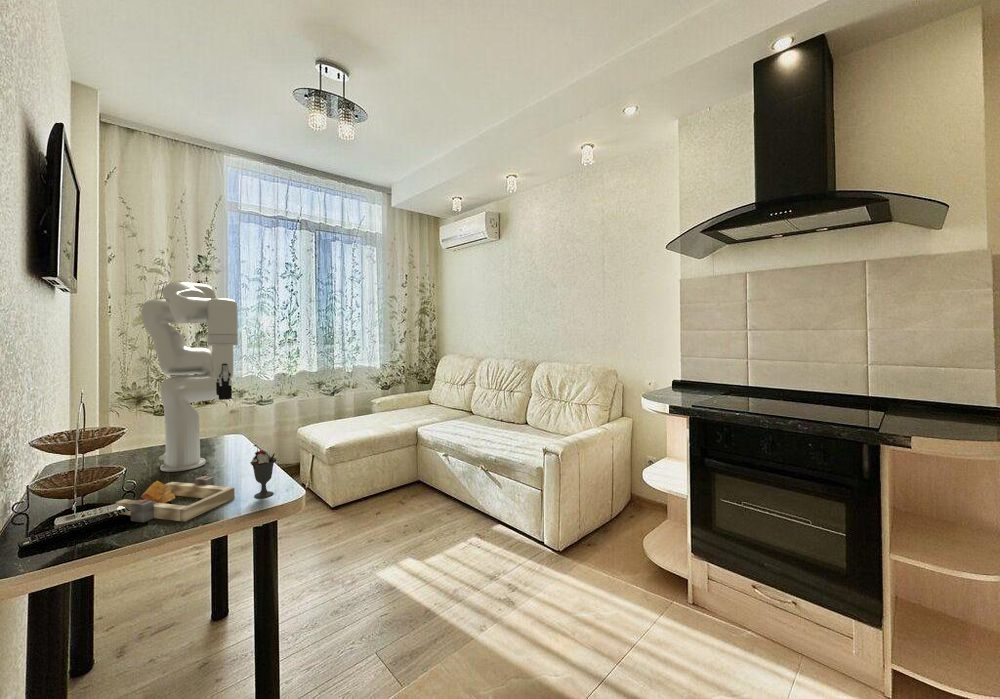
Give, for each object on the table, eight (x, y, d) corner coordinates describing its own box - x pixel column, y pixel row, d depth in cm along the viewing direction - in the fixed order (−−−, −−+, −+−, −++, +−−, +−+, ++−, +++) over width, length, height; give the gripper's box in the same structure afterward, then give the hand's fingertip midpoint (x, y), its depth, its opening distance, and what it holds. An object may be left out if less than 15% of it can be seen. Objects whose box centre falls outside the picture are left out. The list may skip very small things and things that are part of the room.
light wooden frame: (105, 517, 105) (104, 500, 105) (180, 488, 125) (179, 473, 125) (175, 526, 101) (175, 507, 101) (241, 494, 121) (241, 479, 121)
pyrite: (173, 497, 119) (162, 510, 115) (151, 484, 116) (139, 496, 113) (181, 492, 116) (169, 505, 113) (158, 478, 114) (146, 491, 111)
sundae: (245, 496, 120) (244, 444, 119) (269, 489, 125) (268, 439, 125) (257, 501, 116) (256, 448, 115) (281, 494, 122) (280, 443, 121)
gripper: (206, 339, 129) (207, 394, 130) (209, 341, 116) (210, 402, 117) (234, 339, 134) (235, 392, 135) (240, 341, 120) (241, 400, 121)
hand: (223, 396), depth 126 cm, fingers open, 9 cm apart
